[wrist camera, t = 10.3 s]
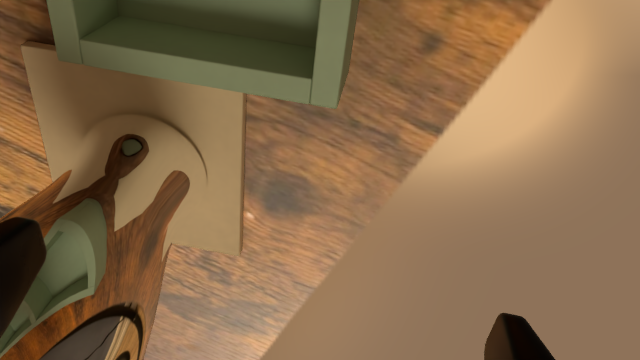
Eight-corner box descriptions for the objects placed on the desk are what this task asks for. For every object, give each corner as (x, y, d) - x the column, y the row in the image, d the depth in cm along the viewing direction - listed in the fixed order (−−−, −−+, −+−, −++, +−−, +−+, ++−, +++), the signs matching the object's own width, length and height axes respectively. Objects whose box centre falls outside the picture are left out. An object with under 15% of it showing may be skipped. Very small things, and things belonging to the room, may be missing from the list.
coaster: (247, 77, 22) (243, 83, 21) (242, 249, 28) (239, 257, 27) (27, 40, 23) (18, 44, 22) (67, 215, 28) (61, 221, 28)
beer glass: (56, 189, 25) (-243, 521, 13) (94, 75, 22) (-264, 378, 9) (185, 247, 27) (32, 596, 14) (240, 150, 23) (101, 497, 11)
